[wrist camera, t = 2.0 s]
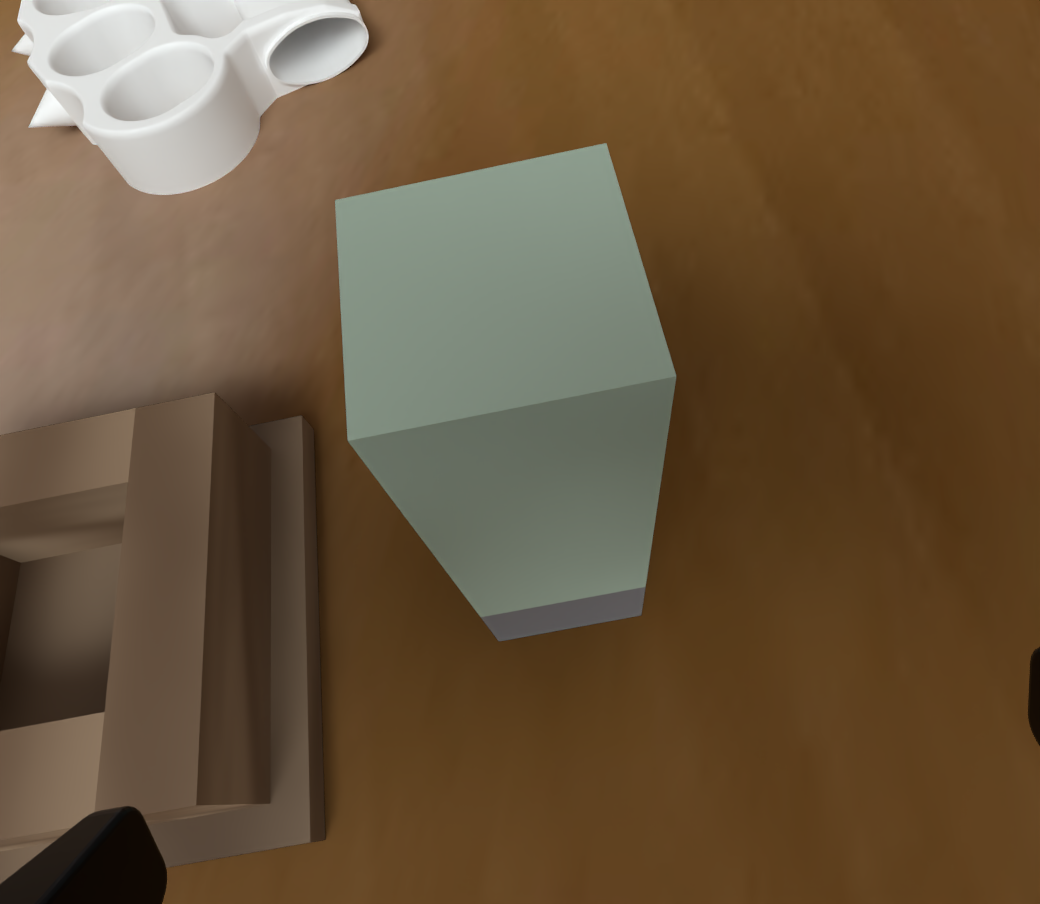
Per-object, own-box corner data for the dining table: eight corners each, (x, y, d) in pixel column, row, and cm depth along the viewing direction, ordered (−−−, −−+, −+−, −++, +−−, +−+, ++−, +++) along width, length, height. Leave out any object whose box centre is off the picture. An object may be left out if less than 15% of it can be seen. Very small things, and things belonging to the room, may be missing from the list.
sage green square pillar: (610, 484, 21) (605, 143, 10) (641, 615, 20) (676, 375, 8) (480, 509, 22) (335, 200, 10) (499, 641, 20) (347, 440, 9)
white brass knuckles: (404, 107, 30) (78, 248, 29) (282, -86, 38) (21, 18, 37) (381, 31, 27) (16, 184, 26) (254, -161, 35) (-32, -51, 34)
